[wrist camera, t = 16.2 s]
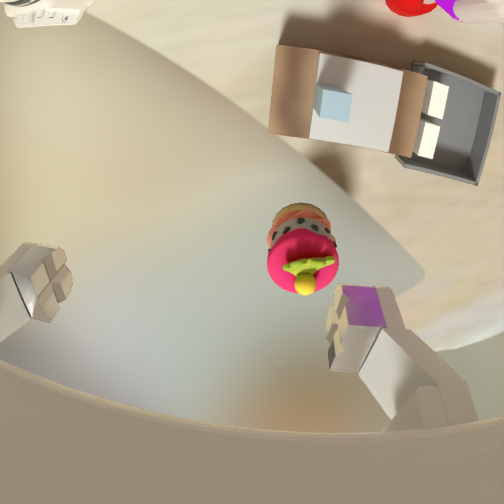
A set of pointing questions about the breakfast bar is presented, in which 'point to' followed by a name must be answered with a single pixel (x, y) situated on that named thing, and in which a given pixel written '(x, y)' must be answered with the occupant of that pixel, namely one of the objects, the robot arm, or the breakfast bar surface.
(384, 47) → the breakfast bar surface
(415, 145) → the tile
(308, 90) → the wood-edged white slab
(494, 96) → the tray
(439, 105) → the tile
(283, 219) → the cake
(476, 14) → the toy
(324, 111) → the blue-knobbed white block
